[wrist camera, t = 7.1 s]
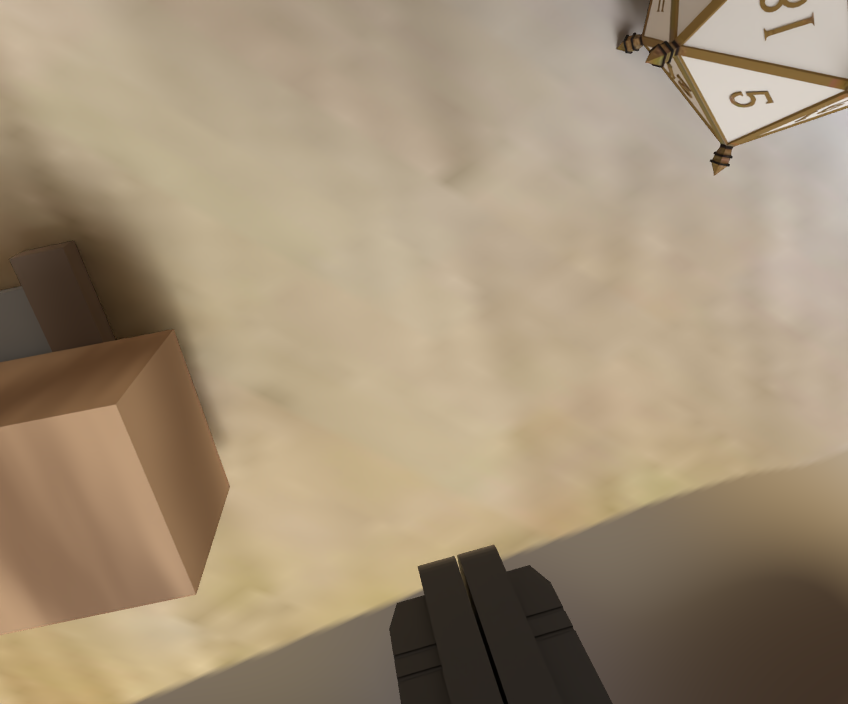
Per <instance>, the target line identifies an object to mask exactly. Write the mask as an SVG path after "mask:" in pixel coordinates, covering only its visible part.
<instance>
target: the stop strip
mask: <svg viewBox="0 0 848 704" xmlns="http://www.w3.org/2000/svg"><path fill="white" fill-rule="evenodd" d="M9 260H10V262H11V265H12V267H13V269H14V271H15V273H16V275H17V277H18V279H19V282H20V284H21V286H22V288H23V290H24V292H25V294H26V297H27V299H28V301H29V303H30V305H31V307H32V309H33V312H34V314H35V316H36V318H37V320H38V322H39V324H40V327H41V329H42V331H43V333H44V335H45V337H46V339H47V341H48V344H49V346H50V348H51V350H52V352H57V351H62V350H67V349H72V348H78V347H83V346H88V345H93V344H99V343H104V342H109V341H114V340H115V338H114V335H113V333H112V331H111V328H110V326H109V323H108V321H107V319H106V316H105V314H104V311H103V309H102V307H101V304H100V302H99V299H98V297H97V295H96V292H95V290H94V287H93V285H92V283H91V280H90V278H89V275H88V273H87V271H86V268H85V266H84V264H83V261H82V259H81V256H80V254H79V252H78V249H77V247H76V244H75V242H74V241H70V242H65V243H60V244H56V245H51V246H46V247H41V248H37V249H32V250H27V251H23V252H21V253H19V254H17V255H15V256H13V257H12V258H10V259H9Z"/></svg>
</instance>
